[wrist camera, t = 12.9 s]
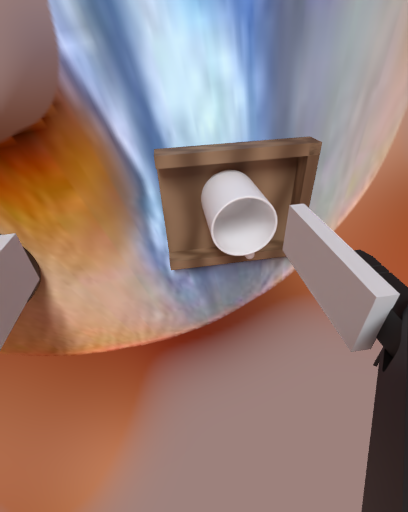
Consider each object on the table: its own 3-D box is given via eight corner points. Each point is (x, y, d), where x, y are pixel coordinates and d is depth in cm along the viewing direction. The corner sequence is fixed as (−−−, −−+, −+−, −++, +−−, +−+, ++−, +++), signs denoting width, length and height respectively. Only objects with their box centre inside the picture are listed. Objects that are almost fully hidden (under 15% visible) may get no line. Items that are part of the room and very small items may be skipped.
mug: (261, 227, 45) (285, 264, 37) (215, 244, 46) (228, 283, 37) (247, 159, 38) (272, 185, 30) (192, 179, 38) (202, 211, 30)
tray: (170, 257, 47) (171, 270, 44) (154, 149, 36) (154, 156, 33) (291, 243, 49) (299, 254, 46) (309, 136, 38) (322, 142, 35)
